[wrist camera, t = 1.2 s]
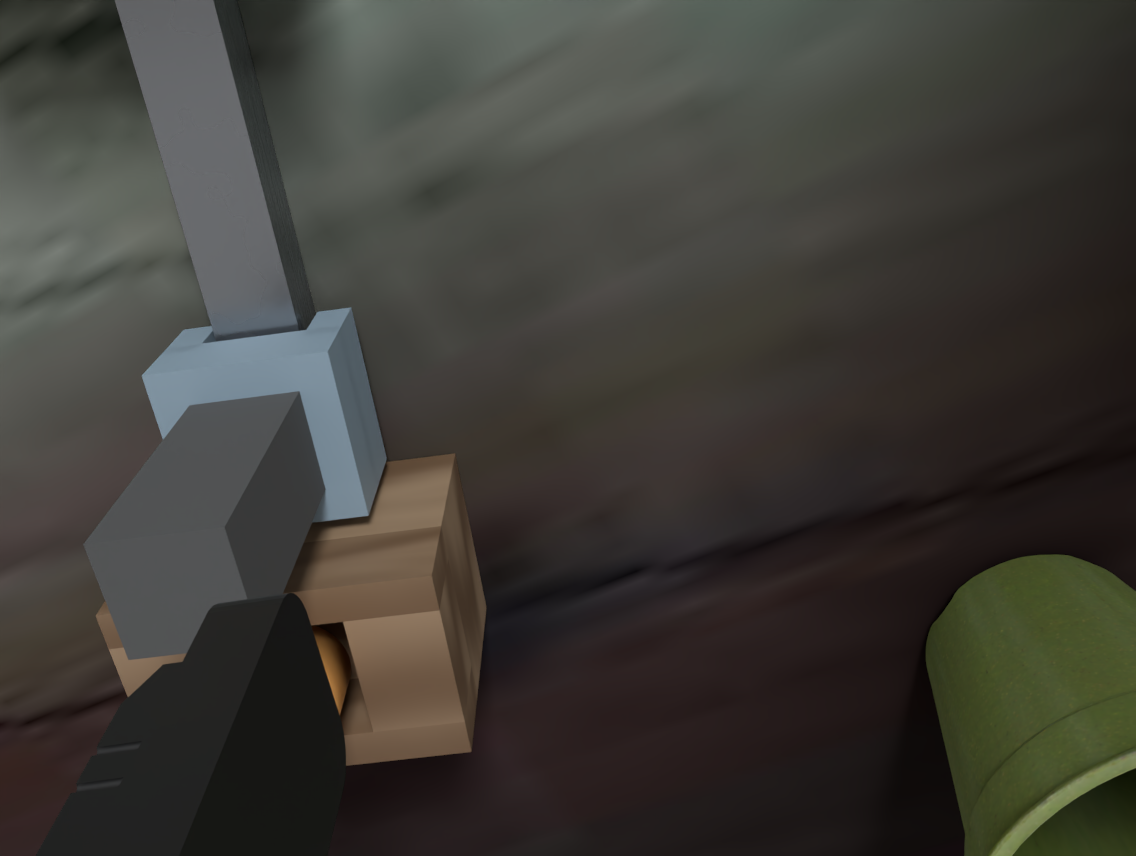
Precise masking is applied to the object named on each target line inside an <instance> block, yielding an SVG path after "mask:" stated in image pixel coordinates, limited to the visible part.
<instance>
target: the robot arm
mask: <svg viewBox="0 0 1136 856" xmlns="http://www.w3.org/2000/svg"><path fill="white" fill-rule="evenodd" d="M97 751H98V752H97V755H95V756H92V757H91V758H90V760H89V762H88V764H87V765H86V767H85V769H84V771H83V773H82V774H81V776H80V778H79V780H78V781H77V783H76V784H77V792H76V793H71V794H70V796H69V797H68V799H67V801H66V803H65V805H64V806H63V808H62V810H61V812H60V813H59V815H58V817H57V819H56V821H55V822H54V824H53V826H52V828H51V829H50V831H49V833H48V835H47V837H46V838H45V840H44V842H43V844H42V845H41V847H40V849H39V851H38V853H37V854H36V856H327V855H328V850H329V846H330V842H331V838H332V834H333V830H334V826H335V822H336V817H337V813H338V809H339V805H340V801H341V797H342V793H343V788H344V783H345V775H346V748H345V738H344V732H343V727H342V722H341V718H340V715H339V712H338V709H337V705H336V702H335V699H334V696H333V693H332V690H331V687H330V683H329V680H328V677H327V674H326V671H325V668H324V664H323V661H322V658H321V655H320V652H319V649H318V646H317V642H316V639H315V636H314V633H313V630H312V627H311V623H310V620H309V617H308V614H307V612H306V609H305V607H304V605H303V603H302V601H301V600H300V598H299V597H298V596H297V595H296V594H294V593H286V594H280V595H273V596H266V597H259V598H252V599H245V600H238V601H232V602H225V603H218V604H215V605H213V606H212V607H211V608H210V610H209V611H208V613H207V615H206V616H205V618H204V620H203V622H202V624H201V626H200V628H199V630H198V632H197V634H196V636H195V638H194V640H193V642H192V644H191V646H190V648H189V650H188V652H187V654H186V656H185V658H184V660H183V662H177V663H170V664H163V665H162V666H161V667H160V668H159V669H158V670H157V671H156V672H155V673H153V674H152V675H151V676H150V677H149V678H148V679H147V680H146V681H145V682H144V683H143V684H142V685H141V686H140V687H139V688H138V689H136V690H135V691H134V692H133V693H132V694H131V695H130V696H129V697H128V698H127V699H126V700H125V701H124V702H123V703H122V704H121V705H120V707H119V709H118V710H117V712H116V714H115V716H114V717H113V719H112V721H111V723H110V725H109V726H108V728H107V730H106V732H105V733H104V735H103V737H102V739H101V741H100V742H99V744H98V746H97Z"/></svg>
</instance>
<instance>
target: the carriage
mask: <svg viewBox="0 0 1136 856" xmlns="http://www.w3.org/2000/svg"><path fill="white" fill-rule="evenodd" d="M142 378H143V381H144V384H145V387H146V390H147V393H148V396H149V399H150V402H151V405H152V408H153V411H154V414H155V417H156V420H157V423H158V426H159V429H160V432H161V435H162V438H163V441H162V442H161V443H160V445H159V446H158V447H157V449H156V450H155V451H154V452H153V454H152V455H151V456H150V458H149V459H148V460H147V462H146V463H145V464H144V466H143V467H142V468H141V469H140V471H139V472H138V473H137V475H136V476H135V477H134V479H133V480H132V481H131V483H130V484H129V485H128V487H127V488H126V489H125V490H124V492H123V493H122V494H121V496H120V497H119V498H118V500H117V501H116V502H115V504H114V505H113V506H112V508H111V509H110V510H109V511H108V513H107V514H106V515H105V517H104V518H103V519H102V521H101V522H100V523H99V525H98V526H97V527H96V528H95V530H94V531H93V532H92V534H91V535H90V536H89V538H88V539H87V540H86V542H85V543H84V544H83V545H84V547H85V550H86V553H87V555H88V558H89V560H90V563H91V565H92V568H93V571H94V573H95V576H96V578H97V581H98V583H99V586H100V588H101V591H102V594H103V596H104V599H105V601H106V604H107V606H108V609H109V612H110V614H111V617H112V619H113V622H114V624H115V627H116V629H117V632H118V635H119V637H120V640H121V642H122V645H123V647H124V650H125V653H126V655H127V658H128V660H134V659H143V658H151V657H160V656H168V655H177V654H185V653H187V652H188V650H189V648H190V646H191V644H192V642H193V640H194V638H195V636H196V634H197V632H198V630H199V628H200V626H201V624H202V622H203V620H204V618H205V616H206V615H207V613H208V611H209V610H210V608H211V607H212V606H213V605H215V604H218V603H225V602H232V601H238V600H245V599H252V598H259V597H266V596H273V595H280V594H283V592H284V590H285V587H286V585H287V582H288V580H289V577H290V575H291V573H292V570H293V568H294V565H295V563H296V560H297V558H298V555H299V553H300V551H301V548H302V546H303V543H304V541H305V538H306V536H307V533H308V531H309V529H310V526H311V524H312V523H313V522H322V521H330V520H338V519H346V518H354V517H362V516H369V513H370V510H371V507H372V504H373V500H374V497H375V494H376V491H377V488H378V485H379V482H380V478H381V475H382V472H383V469H384V466H385V463H386V460H387V458H386V454H385V449H384V445H383V441H382V436H381V432H380V428H379V424H378V419H377V415H376V411H375V407H374V402H373V398H372V394H371V390H370V385H369V381H368V377H367V373H366V368H365V364H364V360H363V356H362V351H361V347H360V343H359V339H358V334H357V330H356V326H355V322H354V317H353V313H352V309H351V308H344V309H336V310H329V311H321V312H317V314H316V315H315V317H314V319H313V320H312V322H311V323H310V325H309V327H308V328H307V330H301V331H294V332H286V333H279V334H271V335H263V336H256V337H248V338H241V339H233V340H225V341H218V342H216V339H215V336H214V332H213V329H212V326H208V327H200V328H193V329H185V330H183V331H182V332H181V333H180V335H179V336H178V337H177V338H176V339H175V340H174V341H173V342H172V343H171V344H170V345H169V347H168V348H167V349H166V350H165V351H164V352H163V353H162V354H161V355H160V356H159V357H158V359H157V360H156V361H155V362H154V363H153V364H152V365H151V366H150V367H149V368H148V369H147V370H146V372H145V373H144V374H143V375H142Z"/></svg>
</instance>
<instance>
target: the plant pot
mask: <svg viewBox="0 0 1136 856" xmlns="http://www.w3.org/2000/svg"><path fill="white" fill-rule="evenodd" d="M926 666H927V670H928V674H929V679H930V683H931V687H932V691H933V696H934V700H935V704H936V709H937V713H938V717H939V722H940V726H941V730H942V735H943V739H944V743H945V748H946V752H947V756H948V761H949V765H950V769H951V774H952V778H953V782H954V787H955V791H956V795H957V800H958V804H959V809H960V813H961V818H962V822H963V827H964V831H965V847H964V856H1136V591H1134V590H1133V589H1132V588H1130V587H1129V586H1128V585H1127V584H1125V583H1124V582H1123V581H1121V580H1120V579H1119V578H1118V577H1116V576H1115V575H1114V574H1112V573H1111V572H1109V571H1107V570H1106V569H1104V568H1101V567H1099V566H1097V565H1094V564H1092V563H1089V562H1087V561H1084V560H1081V559H1078V558H1075V557H1072V556H1068V555H1058V554H1053V555H1034V556H1026V557H1020V558H1016V559H1012V560H1009V561H1006V562H1004V563H1001V564H998V565H996V566H994V567H992V568H989V569H987V570H985V571H983V572H982V573H980V574H978V575H976V576H975V577H973V578H972V579H970V580H969V581H968V582H966V583H965V584H964V585H962V586H961V587H960V588H959V589H958V590H957V591H956V593H955V594H954V596H953V598H952V600H951V601H950V603H949V604H948V606H947V607H946V608H945V610H944V611H943V612H942V614H941V615H940V616H939V618H938V619H937V620H936V621H935V622H934V623H933V624H932V626H931V628H930V631H929V634H928V638H927V642H926Z"/></svg>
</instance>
